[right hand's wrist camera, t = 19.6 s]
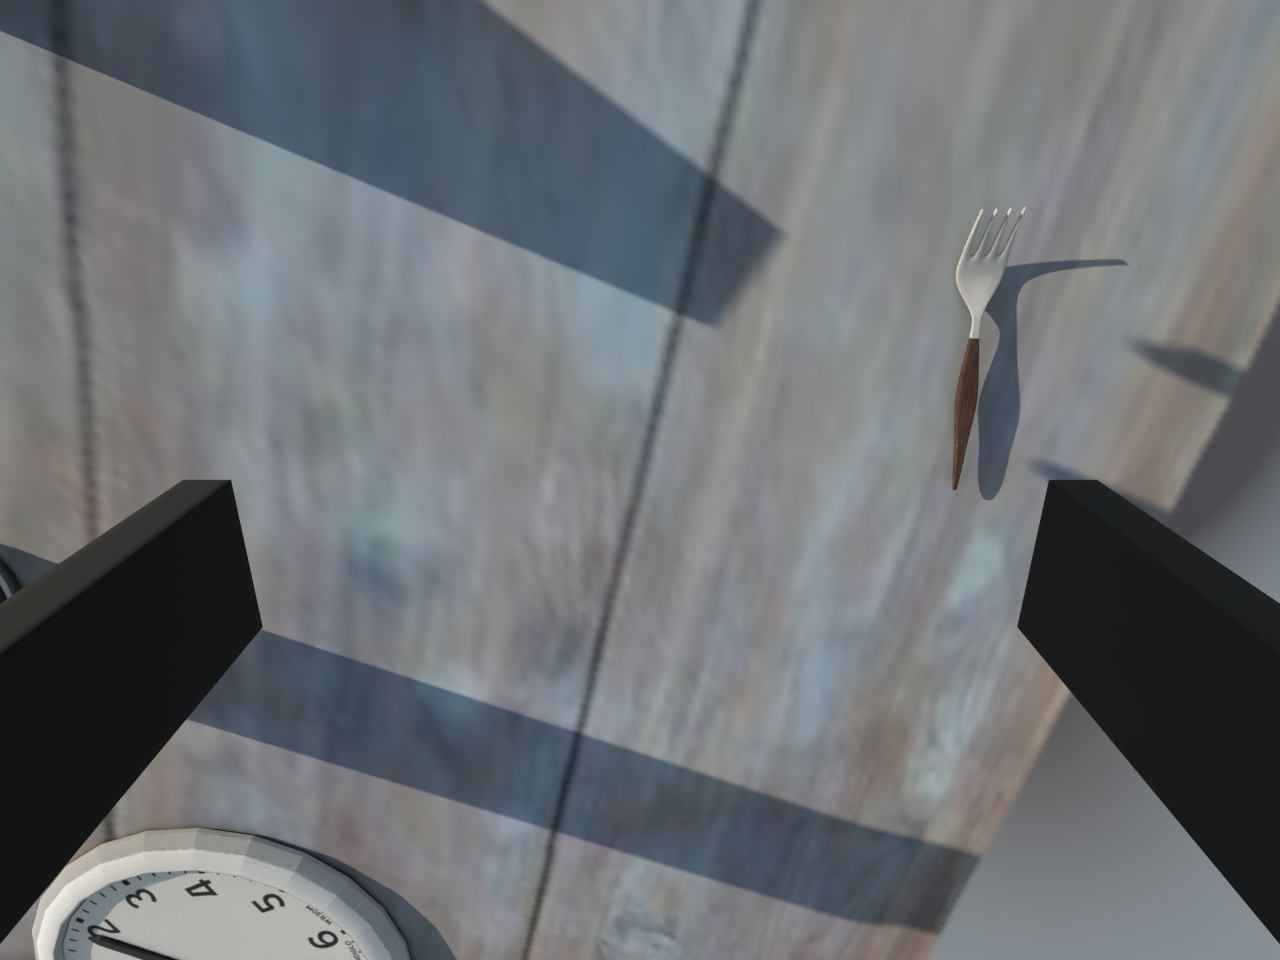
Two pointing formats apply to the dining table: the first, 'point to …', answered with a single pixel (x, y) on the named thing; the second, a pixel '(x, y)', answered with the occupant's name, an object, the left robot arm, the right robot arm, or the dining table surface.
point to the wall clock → (209, 904)
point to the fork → (976, 323)
